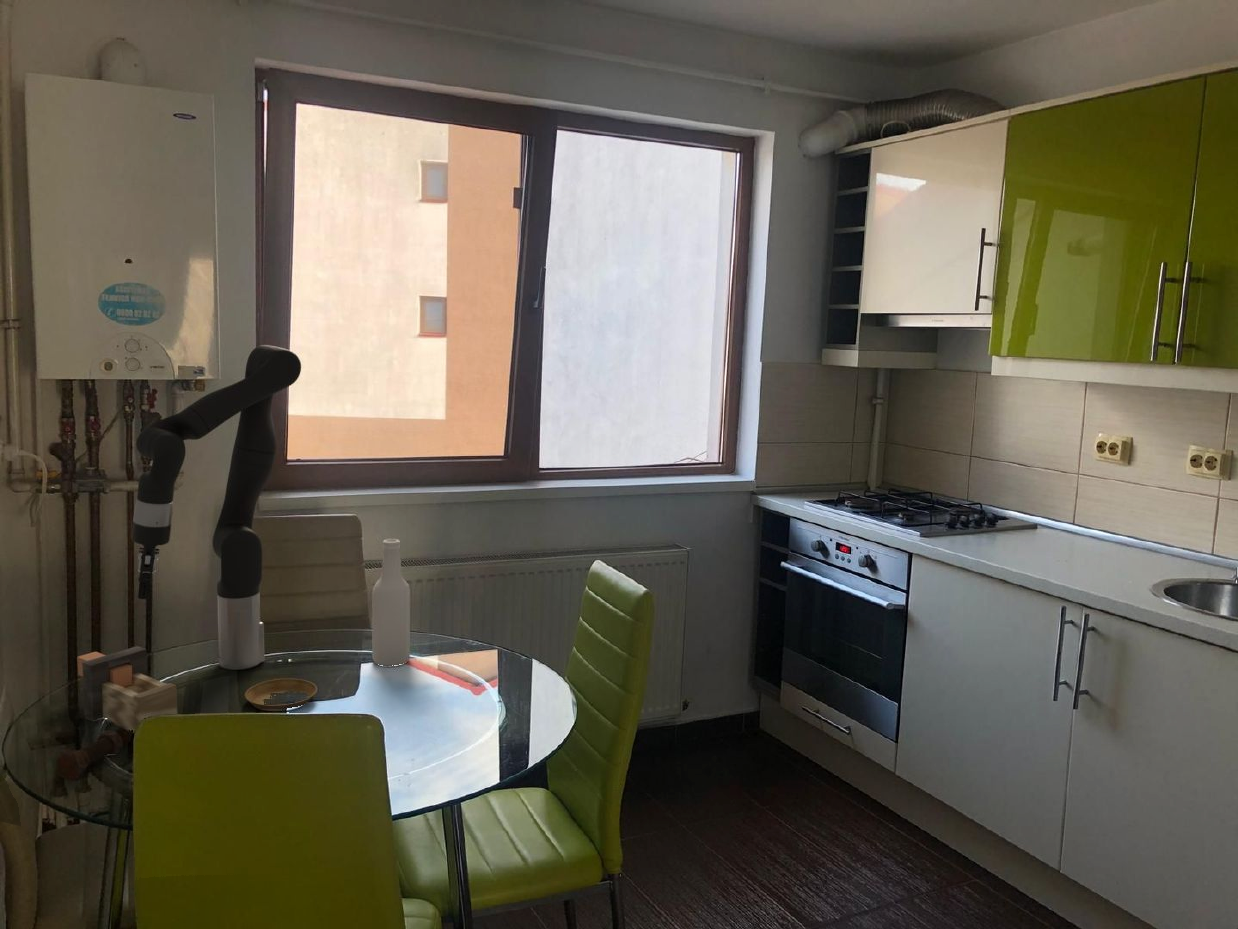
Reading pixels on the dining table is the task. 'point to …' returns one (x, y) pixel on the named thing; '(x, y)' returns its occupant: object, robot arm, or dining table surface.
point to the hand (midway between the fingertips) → (144, 591)
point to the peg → (116, 674)
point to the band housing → (125, 690)
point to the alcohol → (391, 610)
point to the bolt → (90, 753)
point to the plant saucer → (279, 686)
